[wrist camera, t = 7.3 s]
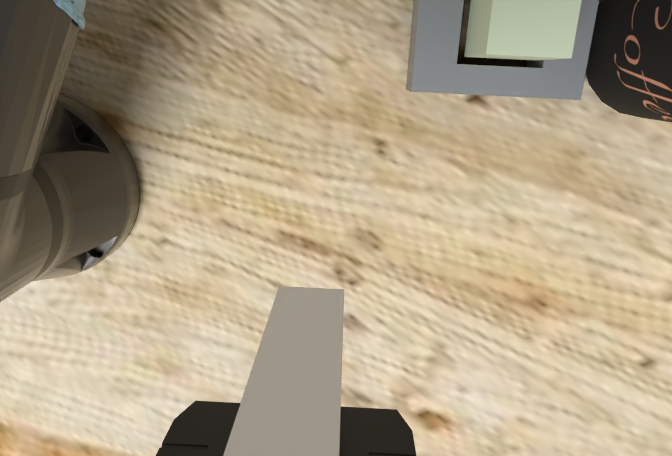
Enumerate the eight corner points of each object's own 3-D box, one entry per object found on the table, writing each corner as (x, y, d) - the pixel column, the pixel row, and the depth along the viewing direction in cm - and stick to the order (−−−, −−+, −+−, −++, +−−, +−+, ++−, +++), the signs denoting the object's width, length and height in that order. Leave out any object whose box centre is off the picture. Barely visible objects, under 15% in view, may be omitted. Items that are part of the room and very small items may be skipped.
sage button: (464, 56, 36) (485, 54, 30) (473, -22, 34) (498, -41, 28) (535, 60, 35) (571, 58, 30) (548, -19, 34) (588, -37, 28)
